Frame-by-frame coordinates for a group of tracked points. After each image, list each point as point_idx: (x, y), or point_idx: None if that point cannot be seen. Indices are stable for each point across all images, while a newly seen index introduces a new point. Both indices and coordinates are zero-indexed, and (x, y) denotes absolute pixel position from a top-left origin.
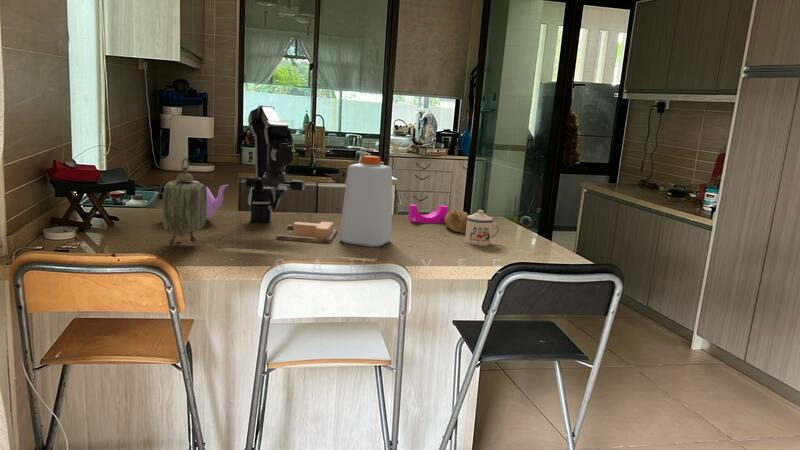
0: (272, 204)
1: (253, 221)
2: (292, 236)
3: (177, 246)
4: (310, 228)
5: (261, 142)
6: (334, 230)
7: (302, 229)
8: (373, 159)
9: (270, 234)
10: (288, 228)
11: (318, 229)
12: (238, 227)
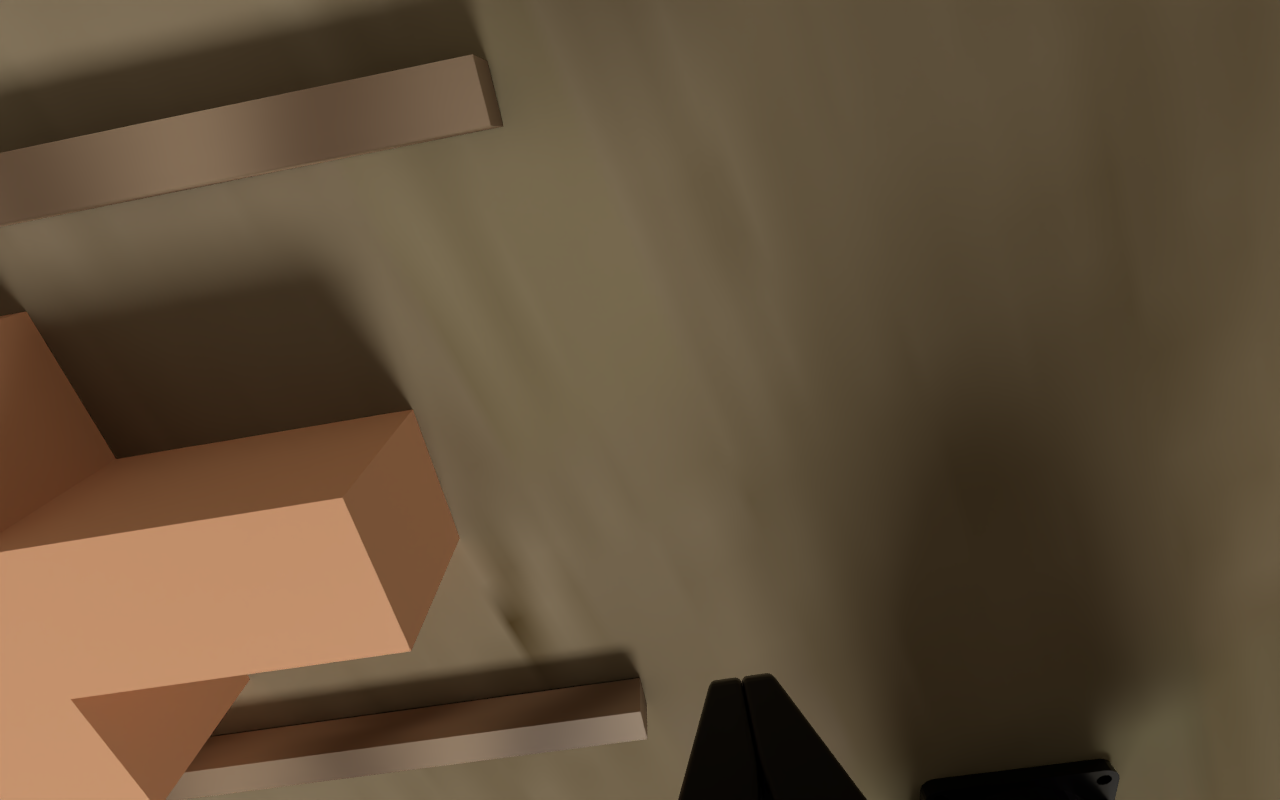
0: (817, 782)
1: (1073, 773)
2: (213, 130)
3: None
4: (108, 510)
5: None
6: None
7: (242, 479)
8: None
9: (696, 335)
10: (629, 684)
11: None
12: (1194, 499)
